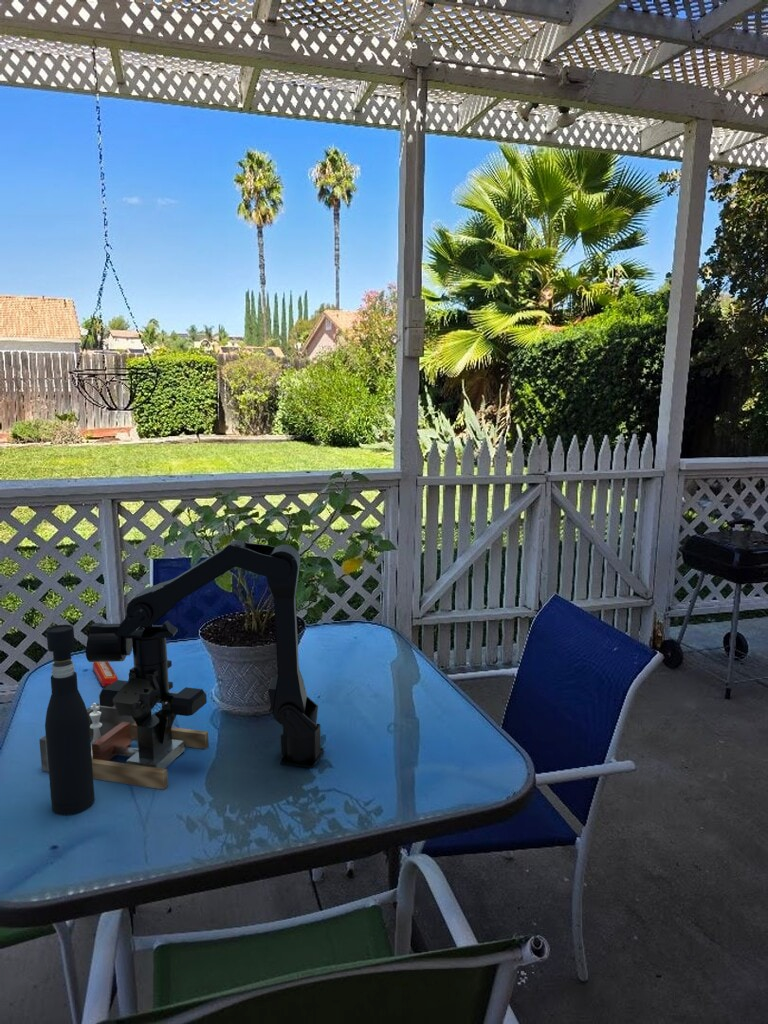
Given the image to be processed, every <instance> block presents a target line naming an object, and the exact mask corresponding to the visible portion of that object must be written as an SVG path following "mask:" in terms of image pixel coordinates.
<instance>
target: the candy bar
mask: <svg viewBox="0 0 768 1024" xmlns="http://www.w3.org/2000/svg"><path fill="white" fill-rule="evenodd" d="M92 669H93V671H94V673H95V676H96V678H97V679H98V681H99V683H100V685H101V686H102V687H104V688H105V687H107V686H108V685H110V684H112V683H113V682H115V681H117V680H119V679H118V678H119V677H118V676H117V674H116V672H115V671H114V668H113V667H112V666H111V664H110V662H92Z"/></svg>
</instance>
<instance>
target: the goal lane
mask: <svg viewBox="0 0 768 1024" xmlns="http://www.w3.org/2000/svg"><path fill="white" fill-rule="evenodd" d="M95 703H96V705H97V706H99V707H100V709H99V710H97V711H100V712H101V716H100V720H99V722H100V723H102V726H101V727H100V728H99V730H100V735H101V736H103V735H105V734H106V733H107V732H109V731H110V730H112V729H113V728H114V727H116V726H117V725H119V724H120V723H121V722H129V723H130V732H131V740H133V741H135V740H136V741H138V734H137V724H136V722H135V721H134V719H133V718H132V716H126V715H123V716H120V715H118V713H117V711H116V708H115V706H113V707H107V706H100V704H99V702H98V703H97V702H95ZM86 709H87V713H88V716H89V726H90V725H91V724H93V722H92V720H91V718H90V713H91V712H93V709H90V707H88V708H86ZM171 730H172V739H174V740H181V741H184V748H194V749H200V750H201V749H202V750H207V749H208V748H209V747H210V742H209V731H207V730H199V729H192V728H191V729H189V728H181V727H175V726H172V727H171ZM93 732H94V729H91V728H90V740H91V742H93ZM38 741H39V751H40V763H41V771H42V772H48V773H49V768H48V756H47V744H46V735H44V736H42V737H41V738H39V740H38ZM92 768H93V780H98V781H105V782H112V783H113V782H114V783H118V784H125V785H132V786H137V787H138V786H139V787H145V788H150V789H151V788H152V789H158V790H165V789H166V788H167V787H168V786H169V782H168V780H169V778H168V769H167V768H165V769H160V768H153V767H146V766H139V765H132V764H127V763H124V762H117V761H112V760H109V761H104V760H97V759H92Z"/></svg>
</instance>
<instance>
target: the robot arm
mask: <svg viewBox="0 0 768 1024" xmlns="http://www.w3.org/2000/svg"><path fill="white" fill-rule="evenodd" d="M300 566H301V555H300V552H299V550H297V549H296V548H295V547H294V546H292V545H290V544H281V545H277V546H275V545H274V546H273V545H269V544H262V543H251V542H245V541H242V540H239V539H238V540H237V539H235V540H232V541H230V542H229V543H228V544H227V545H226V546H225V547H222V549H220V550H218V551H216V552H215V553H214V554H212V555H210V556H208V557H207V558H205V559H203V560H201V561H200V562H199V563H197V564H195V565H194V566H192V567H190V568H189V569H188V570H186V571H184V572H182V573H181V574H179V575H178V576H176V577H175V578H171V579H169V580H165V581H162V582H160V583H157V584H154V585H152V586H149V587H147V588H144V589H142V591H140V592H139V593H138V594H137V595H136V596H135V597H133V598H132V599H131V600H130V601H129V602H128V603H127V604H126V611H125V612H126V616H125V618H124V619H123V620H122V621H121V622H120V623H103V622H94V623H92V624H91V625H90V626H89V627H88V628H89V629H88V630H89V634H88V636H87V640H86V646H85V658H86V660H87V662H89V663H94V662H109V663H112V662H119V663H120V662H124V661H125V660H126V658H127V656H131V655H132V657H133V667H132V668H130V669H129V673H128V680H121V679H120V680H119V679H118V680H117V681H115V682H113V683H112V684H110V685H108V686H107V687H105V686H104V687H103V688H102V689H101V691H100V692H99V694H98V704H100V706H107V707H113V706H115V708H116V711H117V713H118V715H120V716H123V715H126V716H132V718H133V719H134V721H135V722H136V724H137V726H138V725H139V724H140V723H142V722H143V721H144V720H146V719H147V718H148V717H150V716H151V715H152V710H153V709H154V708H155V706H156V705H157V704H161V709H160V710H158V711H156V712H157V713H156V714H155V715H156V716H157V717H158V718H159V728H160V740H161V743H162V744H164V743H165V742H166V740H167V738H168V735H169V732H170V730H171V727H173V724H174V722H175V719H176V717H177V716H183V717H184V716H185V717H191V716H193V715H194V714H196V712H198V711H199V710H201V709H202V708H203V707H204V706H205V705H206V704H207V702H208V701H207V698H208V697H207V694H206V690H204V689H203V688H197V687H196V688H195V687H184V688H183V689H182V690H180V691H179V692H177V691H173V692H170V690H171V689H173V688H174V685H173V684H174V682H173V681H169V668H172V666H173V664H172V660H168V651H167V639H171V638H173V637H174V636H175V635H176V634H177V632H178V627H176V626H174V625H173V624H172V623H170V621H169V620H166V621H165V622H164V623H163V624H160V625H156V624H157V622H159V621H160V620H161V619H162V618H163V617H164V616H165V615H167V614H168V613H169V612H170V611H171V610H172V609H173V608H174V607H175V606H176V605H177V604H178V603H180V602H181V601H182V600H183V599H185V598H186V597H188V596H190V595H191V594H192V593H195V592H196V591H198V590H199V589H201V588H203V587H204V586H206V585H207V584H209V583H211V582H213V581H214V580H215V579H217V578H219V577H220V576H222V575H224V574H226V573H227V572H228V571H230V570H232V569H233V568H239V569H242V570H245V571H248V572H251V573H254V574H255V575H259V576H264V577H265V578H266V581H267V585H268V588H269V592H270V594H271V596H272V600H273V609H274V627H275V629H274V630H275V646H276V662H277V666H276V667H277V676H276V677H275V676H271V679H270V681H269V686H268V690H267V693H268V697H269V702H270V704H269V709H268V712H269V713H270V712H272V717H273V719H274V721H275V722H277V723H279V725H282V733H281V734H280V755H281V756H282V757H280V760H279V764H281V765H288V766H295V767H303V768H309V769H311V768H314V767H315V766H316V764H317V763H318V762H319V760H320V758H321V757H322V755H323V754H324V752H325V749H324V748H323V747H322V746H321V745H322V743H321V742H322V739H321V737H322V734H321V733H322V732H321V724H320V723H318V716H319V715H318V713H319V705H318V704H317V703H315V702H314V701H313V700H312V699H311V698H310V697H309V696H308V695H307V694H308V693H307V690H306V686H305V682H304V678H303V675H302V673H301V672H302V671H301V670H300V666H299V665H300V664H299V642H298V638H299V637H298V622H297V604H296V603H297V602H296V601H297V600H296V594H297V589H298V581H299V575H300V574H299V573H300ZM139 628H140V629H139ZM141 628H142V629H141ZM321 747H322V748H321Z"/></svg>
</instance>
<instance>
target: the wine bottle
mask: <svg viewBox="0 0 768 1024" xmlns="http://www.w3.org/2000/svg"><path fill="white" fill-rule="evenodd" d="M74 630H75V629H74V626H73V625H72V624H57V625H53V626H50V627H48V628H47V629H46V631H45V633H46V643H47V650H48V651H49V652H51V653H52V655H53V658H52V661H53V664H52V665H51V668H50V669H51V676H50V687H51V695H50V698H49V700H48V706H47V708H46V713H45V721H44V722H45V723H44V730H45V736H46V744H47V756H48V768H49V772H48V778H49V788H50V789H49V791H50V792H49V793H50V801H51V802H50V803H51V809H52V812H53V813H54V814H55V815H59V816H71V815H75V814H79V813H82V812H85V811H86V810H88V809H89V808H91V807H92V806H93V804H94V803H95V800H96V798H95V784H94V781H95V780H94V779H93V768H92V754H91V745H92V741H91V740H90V726H89V716H88V713H87V709H88V708H87V706H86V704H85V701H84V699H83V696H82V695H81V693H80V691H79V689H78V688H79V687H78V676H77V672H76V671H75V670H76V669H75V663H74V661H73V660H72V654H71V650H73V649H74V648H75V647H76V643H75V642H76V641H75V631H74Z"/></svg>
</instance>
